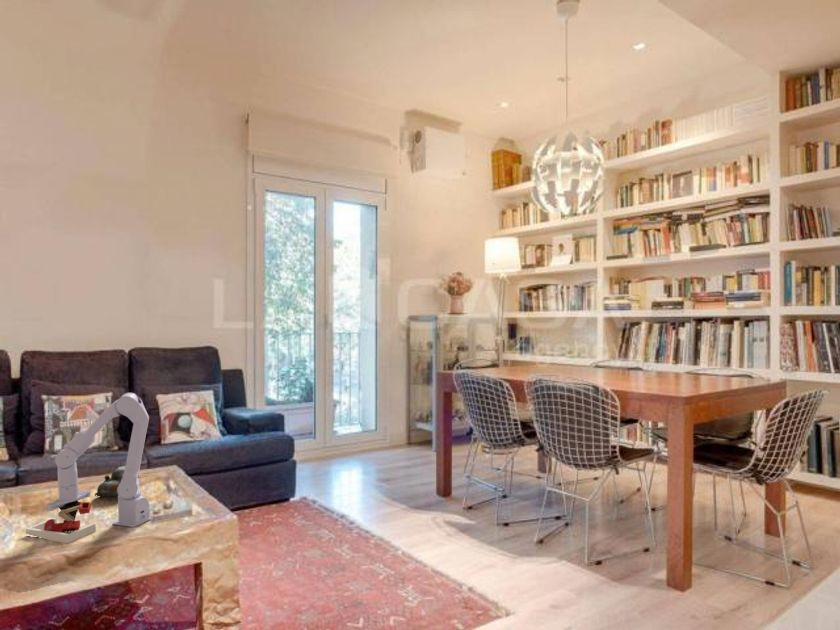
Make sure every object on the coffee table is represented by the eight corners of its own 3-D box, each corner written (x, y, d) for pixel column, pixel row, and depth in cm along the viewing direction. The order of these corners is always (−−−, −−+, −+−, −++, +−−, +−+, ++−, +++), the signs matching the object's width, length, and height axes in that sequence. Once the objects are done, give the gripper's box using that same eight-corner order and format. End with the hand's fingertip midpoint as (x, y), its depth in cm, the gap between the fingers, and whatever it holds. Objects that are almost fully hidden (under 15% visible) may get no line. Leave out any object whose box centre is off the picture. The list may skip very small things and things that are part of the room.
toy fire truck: (45, 530, 194) (42, 506, 190) (92, 523, 198) (90, 500, 195) (43, 537, 191) (40, 513, 187) (91, 530, 196) (88, 507, 192)
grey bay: (95, 531, 195) (95, 523, 195) (68, 543, 185) (68, 535, 185) (54, 525, 201) (54, 518, 201) (26, 536, 192) (25, 528, 192)
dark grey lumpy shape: (92, 496, 231) (105, 461, 237) (124, 503, 236) (136, 468, 243) (97, 494, 219) (111, 457, 225) (130, 501, 225) (143, 465, 231)
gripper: (78, 477, 204) (81, 515, 205) (39, 490, 191) (41, 531, 191) (93, 478, 202) (96, 517, 202) (54, 492, 188) (57, 534, 189)
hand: (70, 524), depth 196 cm, fingers closed, pressing on toy fire truck
